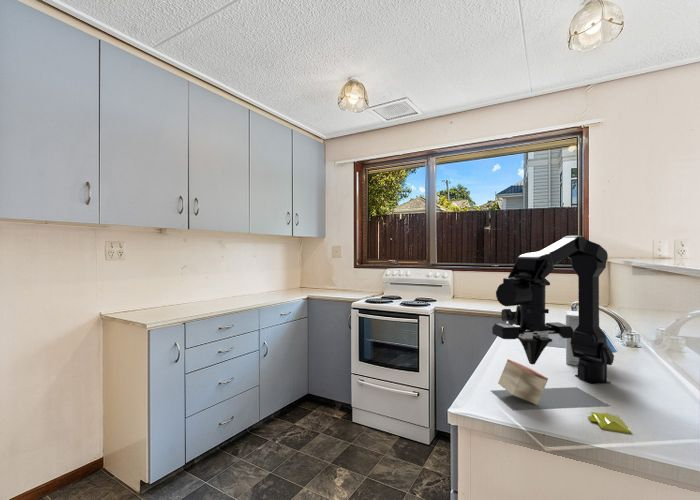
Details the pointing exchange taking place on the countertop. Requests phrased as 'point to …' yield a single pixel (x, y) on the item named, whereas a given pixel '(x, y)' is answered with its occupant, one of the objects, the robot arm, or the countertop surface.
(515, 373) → the birch cube
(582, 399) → the charcoal mat
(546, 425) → the countertop surface
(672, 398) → the countertop surface
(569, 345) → the supplement box
